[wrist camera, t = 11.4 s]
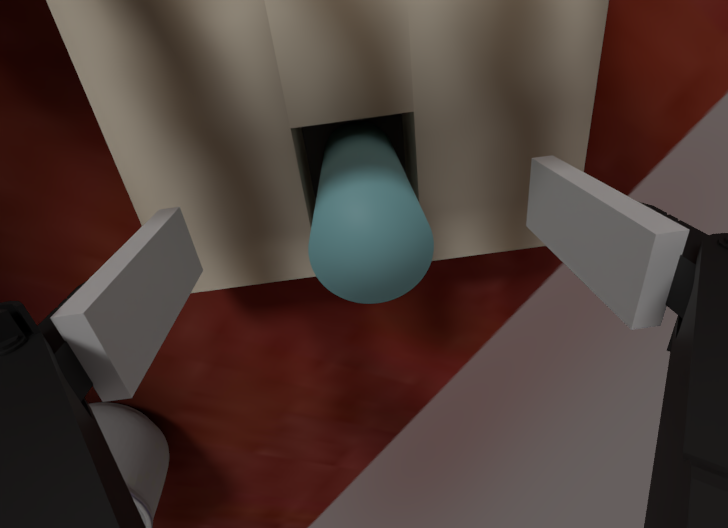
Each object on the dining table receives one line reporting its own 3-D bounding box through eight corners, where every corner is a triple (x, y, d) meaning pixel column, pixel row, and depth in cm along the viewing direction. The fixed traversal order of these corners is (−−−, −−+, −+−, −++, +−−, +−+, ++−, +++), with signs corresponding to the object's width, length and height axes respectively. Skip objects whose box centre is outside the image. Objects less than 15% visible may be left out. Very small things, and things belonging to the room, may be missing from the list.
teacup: (91, 359, 30) (17, 455, 23) (211, 426, 35) (179, 525, 28) (5, 449, 34) (-80, 554, 28) (121, 499, 39) (73, 601, 32)
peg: (330, 194, 24) (320, 310, 14) (318, 126, 22) (296, 200, 12) (396, 185, 24) (436, 295, 14) (390, 116, 22) (431, 182, 12)
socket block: (199, 253, 27) (171, 295, 22) (44, -172, 17) (-59, -246, 12) (534, 208, 26) (573, 242, 22) (575, -250, 17) (660, -353, 12)
